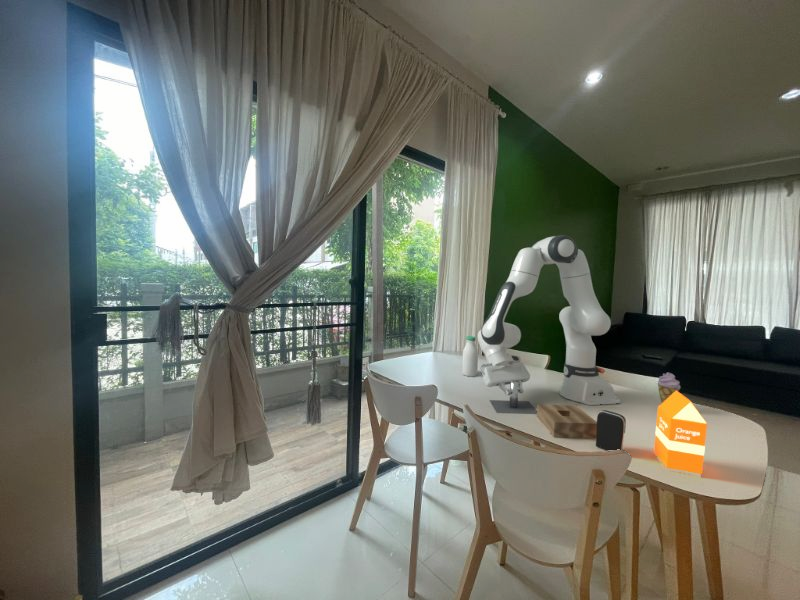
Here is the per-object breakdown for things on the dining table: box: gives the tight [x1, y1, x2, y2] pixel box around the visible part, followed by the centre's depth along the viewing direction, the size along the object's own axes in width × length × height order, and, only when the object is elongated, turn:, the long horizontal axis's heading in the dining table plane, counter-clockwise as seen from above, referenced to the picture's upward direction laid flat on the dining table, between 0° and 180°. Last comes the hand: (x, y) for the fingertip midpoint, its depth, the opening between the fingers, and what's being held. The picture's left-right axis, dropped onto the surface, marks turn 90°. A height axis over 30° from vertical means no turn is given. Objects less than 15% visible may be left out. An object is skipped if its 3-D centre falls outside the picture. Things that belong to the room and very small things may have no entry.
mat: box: [489, 399, 537, 415], centre depth 124 cm, size 16×12×1 cm
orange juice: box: [653, 390, 708, 475], centre depth 87 cm, size 8×9×20 cm
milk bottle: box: [461, 335, 479, 378], centre depth 164 cm, size 8×8×20 cm
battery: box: [595, 409, 627, 451], centre depth 95 cm, size 7×4×11 cm, turn 42°
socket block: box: [536, 403, 597, 439], centre depth 109 cm, size 14×14×5 cm
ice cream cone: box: [657, 372, 681, 404], centre depth 123 cm, size 7×6×15 cm
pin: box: [509, 381, 519, 408], centre depth 124 cm, size 3×3×10 cm
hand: (515, 393), depth 123 cm, fingers open, 5 cm apart
